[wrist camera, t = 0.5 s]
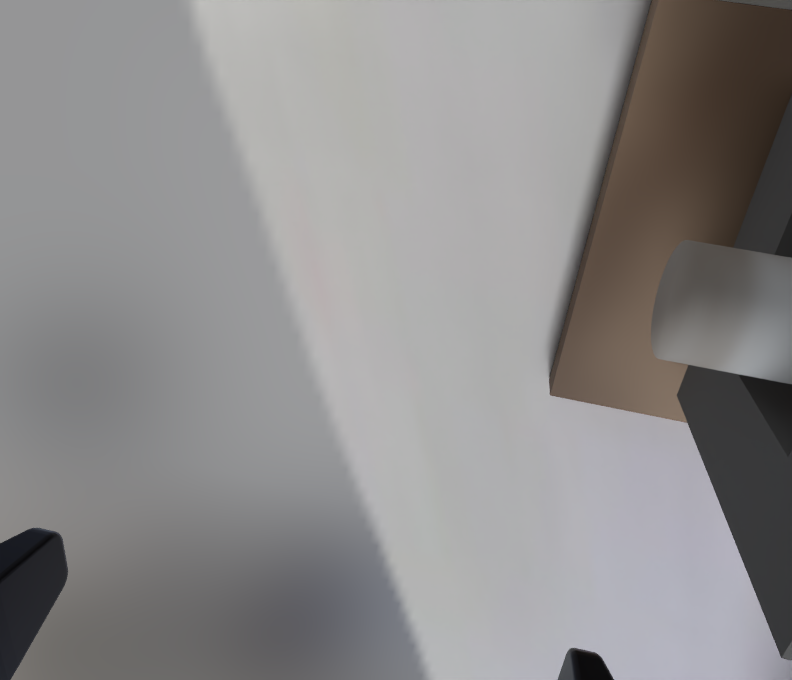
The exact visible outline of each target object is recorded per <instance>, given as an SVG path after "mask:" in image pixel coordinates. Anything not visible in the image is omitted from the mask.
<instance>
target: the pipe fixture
mask: <svg viewBox="0 0 792 680" xmlns="http://www.w3.org/2000/svg"><path fill="white" fill-rule="evenodd" d="M791 95H792V10H787V9H780V8H772V7H764V6H756V5H749V4H741V3H733V2H726V1H718V0H652V1H651V5H650V9H649V12H648V16H647V20H646V24H645V27H644V31H643V35H642V38H641V42H640V46H639V49H638V53H637V57H636V61H635V64H634V68H633V72H632V75H631V79H630V83H629V86H628V90H627V94H626V98H625V101H624V105H623V109H622V112H621V116H620V120H619V123H618V127H617V131H616V134H615V138H614V142H613V146H612V149H611V153H610V157H609V160H608V164H607V168H606V171H605V175H604V179H603V183H602V186H601V190H600V194H599V197H598V201H597V205H596V208H595V212H594V216H593V220H592V223H591V227H590V231H589V234H588V238H587V242H586V245H585V249H584V253H583V256H582V260H581V264H580V268H579V271H578V275H577V279H576V282H575V286H574V290H573V293H572V297H571V301H570V305H569V308H568V312H567V316H566V319H565V323H564V327H563V330H562V334H561V338H560V342H559V345H558V349H557V353H556V356H555V360H554V364H553V367H552V371H551V375H550V378H549V384H550V395H551V396H556V397H561V398H566V399H571V400H576V401H581V402H586V403H591V404H596V405H601V406H606V407H611V408H616V409H621V410H626V411H631V412H636V413H641V414H646V415H651V416H656V417H661V418H666V419H671V420H676V421H681V422H686V423H687V420H686V418H685V415H684V413H683V410H682V408H681V405H680V403H679V400H678V398H677V393H678V391H679V388H680V385H681V383H682V380H683V378H684V375H685V372H686V370H687V367H688V365H693V366H698V367H703V368H708V369H714V370H719V371H724V372H729V373H735V374H740V375H745V376H750V377H756V378H761V379H766V380H771V381H777V382H782V383H787V384H792V258H790V257H784V256H779V255H773V254H767V253H761V252H755V251H749V250H743V249H737V248H733V247H734V244H735V241H736V239H737V236H738V233H739V231H740V228H741V226H742V223H743V220H744V218H745V215H746V212H747V210H748V207H749V205H750V202H751V199H752V197H753V194H754V192H755V189H756V186H757V184H758V181H759V178H760V176H761V173H762V171H763V168H764V165H765V163H766V160H767V157H768V155H769V152H770V150H771V147H772V144H773V142H774V139H775V136H776V134H777V131H778V129H779V126H780V123H781V121H782V118H783V116H784V113H785V110H786V108H787V105H788V102H789V100H790V97H791Z"/></svg>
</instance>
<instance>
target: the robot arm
mask: <svg viewBox="0 0 792 680" xmlns="http://www.w3.org/2000/svg"><path fill="white" fill-rule="evenodd" d="M67 575H68V567H67V561H66V556H65V550H64V545H63V539H62V537H61V535H60V534H59V533H57V532H55V531H50V530H46V529H41V528H32V529H29V530H26V531H25V532H22V533H20V534H18V535H16V536H14V537H12V538H10V539H8V540H6V541H4V542H2V543H0V680H10V679H11V678H12V676H13V675H14V673H15V671H16V670H17V668H18V666H19V665H20V663H21V661H22V659H23V657H24V656H25V654H26V652H27V650H28V649H29V647H30V645H31V643H32V642H33V640H34V638H35V636H36V635H37V633H38V631H39V629H40V628H41V626H42V624H43V622H44V621H45V619H46V617H47V615H48V614H49V612H50V610H51V608H52V607H53V605H54V603H55V601H56V600H57V598H58V596H59V594H60V593H61V591H62V589H63V587H64V585H65V582H66V580H67ZM558 680H614V679H613V677H612V675H611V674H610V672H609V670H608V668H607V666H606V664H605V663H604V661H603V659H602V658H601V657H600V656H599V655H598V654H597V653H595V652H591V651H586V650H582V649H577V648H571V649H569V651H568V652H567V654H566V657H565V660H564V663H563V666H562V669H561V671H560V674H559V677H558Z"/></svg>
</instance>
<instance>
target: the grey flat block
mask: <svg viewBox="0 0 792 680" xmlns="http://www.w3.org/2000/svg"><path fill="white" fill-rule="evenodd" d="M733 248H737V249H743V250H749V251H755V252H761V253H767V254H773V255H779V256H784V257H790V258H792V95H791V97H790V100H789V102H788V105H787V108H786V110H785V113H784V116H783V118H782V121H781V123H780V126H779V129H778V131H777V134H776V136H775V139H774V142H773V144H772V147H771V150H770V152H769V155H768V157H767V160H766V163H765V165H764V168H763V171H762V173H761V176H760V178H759V181H758V184H757V186H756V189H755V192H754V194H753V197H752V199H751V202H750V205H749V207H748V210H747V212H746V215H745V218H744V220H743V223H742V226H741V228H740V231H739V233H738V236H737V239H736V241H735V244H734V247H733ZM677 398H678V400H679V403H680V405H681V408H682V410H683V413H684V415H685V418H686V420H687V423H688V425H689V428H690V430H691V433H692V435H693V438H694V440H695V443H696V445H697V448H698V450H699V453H700V455H701V458H702V460H703V463H704V465H705V468H706V470H707V473H708V475H709V478H710V480H711V483H712V485H713V488H714V490H715V493H716V495H717V498H718V500H719V503H720V505H721V508H722V510H723V513H724V515H725V518H726V520H727V523H728V525H729V528H730V530H731V533H732V535H733V538H734V540H735V543H736V545H737V548H738V550H739V553H740V555H741V558H742V560H743V563H744V565H745V568H746V570H747V573H748V575H749V578H750V580H751V583H752V585H753V588H754V590H755V593H756V595H757V598H758V600H759V603H760V605H761V608H762V610H763V613H764V615H765V618H766V620H767V623H768V625H769V628H770V630H771V633H772V635H773V638H774V640H775V643H776V645H777V648H778V650H779V653H780V655H781V658H784V659H788V660H792V384H787V383H782V382H777V381H771V380H766V379H761V378H756V377H750V376H745V375H740V374H735V373H729V372H724V371H719V370H714V369H708V368H703V367H698V366H693V365H688V367H687V370H686V372H685V375H684V378H683V380H682V383H681V385H680V388H679V391H678V393H677Z"/></svg>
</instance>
